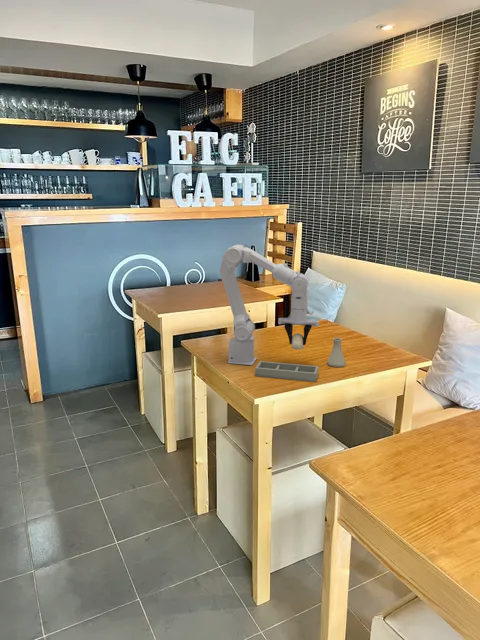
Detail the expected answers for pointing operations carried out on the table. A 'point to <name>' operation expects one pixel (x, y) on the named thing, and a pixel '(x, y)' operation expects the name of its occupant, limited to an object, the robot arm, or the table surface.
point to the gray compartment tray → (287, 371)
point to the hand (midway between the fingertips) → (297, 343)
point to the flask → (336, 355)
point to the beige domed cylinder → (297, 341)
